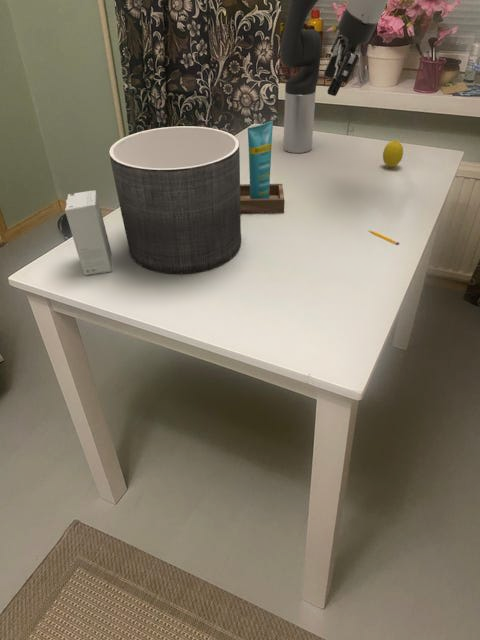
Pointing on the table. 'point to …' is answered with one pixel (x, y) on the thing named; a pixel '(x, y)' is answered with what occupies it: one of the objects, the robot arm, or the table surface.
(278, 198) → the tray
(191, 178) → the planter
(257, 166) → the tube
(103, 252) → the skincare box
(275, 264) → the table surface
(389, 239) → the pencil
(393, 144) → the lemon
